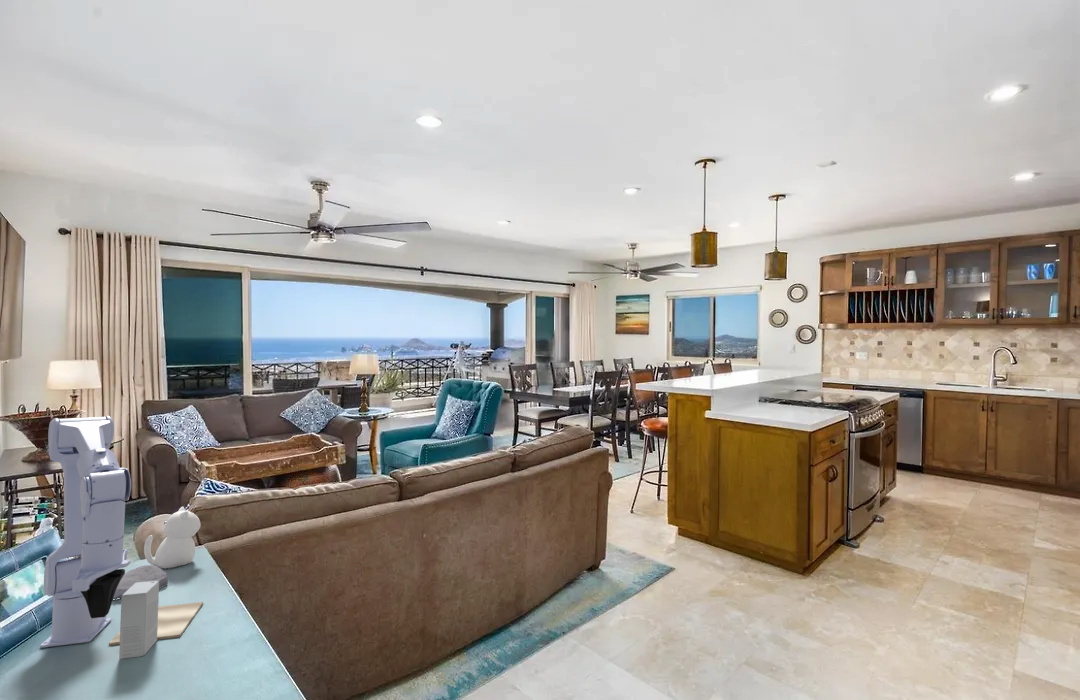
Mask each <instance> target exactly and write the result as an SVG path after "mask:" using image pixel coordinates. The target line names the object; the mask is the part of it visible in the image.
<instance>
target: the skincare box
mask: <svg viewBox="0 0 1080 700" xmlns="http://www.w3.org/2000/svg"><path fill="white" fill-rule="evenodd" d="M159 594H160V588H159V581H148V582H137V583H135V584H134V585H133V586H131V587H130V588H129V589H128V590H127V591H126V592H125V593H124V594H123V595H122V597H121V599H120V600H121V601H120V623H119V624H120V626H119V632H120V644H119V653H118V655H119V657H118V658H119V660H120V659H130V658H137V657H139V658H140V657H144V656H146V654H147V653H148V651H150V649H151V648H152V646H154V644H155V643H156V642H157V641H158V640H157V630H158V607H159V601H160V599H159Z"/></svg>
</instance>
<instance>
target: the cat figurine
mask: <svg viewBox="0 0 1080 700" xmlns="http://www.w3.org/2000/svg"><path fill="white" fill-rule="evenodd" d="M200 528H201V520H200V518H199V517H198V516H197V515H196V513H194V512H191V511H190V510H186V509H185V506H181V507H180V508H179V509H178V511H176V512H174V513H171V515H169V517H168V519H167V520H166V523H165V527H164V532H165V534H166V537H165V538H164V539H163V540H162V542H161V543H160V544H159V546H158V547H157V549H156V552H155V554H154V557H153V555H152V551H151V549H152V542H153V539H154V536H153V535H152V534H151V535H148V536H147V538H146V539H145V541H144V545H143V546H144V547H143V552H144V554H143V555H144V556H145V558H144V559H145V560H146V561H147V563H148V565H153V566H157V567H159V568H160V569H163V568H165V569H166V568H168V569H173V568H177V566H178V567H180V566H181V565H182V566H185V565H188V563H189V564H190V563H192V561H194V558H195V554H196V545H195V541H194V539H193V538H192V537H193V536H194V535H196V534H197V533H198V531H199V530H200ZM165 569H164V570H165Z"/></svg>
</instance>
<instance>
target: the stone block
mask: <svg viewBox="0 0 1080 700" xmlns="http://www.w3.org/2000/svg"><path fill="white" fill-rule="evenodd" d="M148 581H159V589H161V588H163V587H166V586H167V585H168V581H169V579H168V575H167V573H166V571H164V569H163V568H161V567H159V566H153V565H151V564H146V565H141V566H138V567H135V568H134V569H131V570H129V571H127V572H125V574H124V576H123V577H122V579H121V580H120V582H119V584H118V586H117V589H116V591H115V594H114V597H113V599H117V598H121V597H122V595H123V594H124V593H125V592H126V591H127V590H128V589H129V588H130V587H131V586H133V585H134V584H135V583H137V582H148ZM166 584H167V585H166ZM162 586H163V587H162ZM160 587H161V588H160Z"/></svg>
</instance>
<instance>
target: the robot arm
mask: <svg viewBox="0 0 1080 700" xmlns="http://www.w3.org/2000/svg"><path fill="white" fill-rule="evenodd" d="M114 422H115V421H114V419H113V417H111V416H110V415H104V416H90V417H89V416H88V417H73V418H72V417H70V418H67V417H66V418H58V417H54V418H53V419H52V420H50V422H49V425H48V433H47V434H48V435H47V438H48V456H49V460H50V461H53V462H56V463H60V467H61V470H62V472H63V542H64V543H62V545H60V546H59V547H57V548H56V549H55V550H53V551H52V552H51V553H50V554H49V555H47V558H46V560H45V565H44V573H43V589H44V590H43V591H44V594H45V595H47V597H52V600H53V601H52V614H51V615H52V617H51V618H52V619H51V635H50V636H49V637H48V638H47V639H46V640H44V641H43V642H42V643H41V644H40V645H39V647H40V648H49V647H58V646H67V645H73V644H74V645H75V644H83V643H84V644H86V643H88V642H89V643H90V642H91V641H92V640H93V639H94V638H95V637H96V636H97V635H98V634H99V633H100V632H101V631H103V630H104V628H106V626H107V625H108V624H109V623H110V622H111V621H112V617H107V615H108V614H109V613H110V610H111V606H112V603H113V602H114V600H113V597H114V594H115V591H116V589H117V586H118V584H119V582H120V580H121V579H122V577H123V576H124V574H125V573H126V569H124V568H126V567H128V566H129V565H131V559H128V549H124V540H125V539H124V538H125V516H126V515H125V513H126V501H128V500H129V499H130V497H131V491H132V479H131V474H130V470H129V469H128V468H126V467H120V466H121V465H120V464H119V462H118V459H117V456H116V454H115V452H114V451H112V450H111V449H110V447H111V444H112V442H113V440H114V435H115V423H114ZM124 500H125V501H124ZM79 556H80V557H79ZM74 557H76V558H74ZM69 558H72V559H69ZM64 559H67V560H64ZM61 560H62V561H61Z"/></svg>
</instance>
